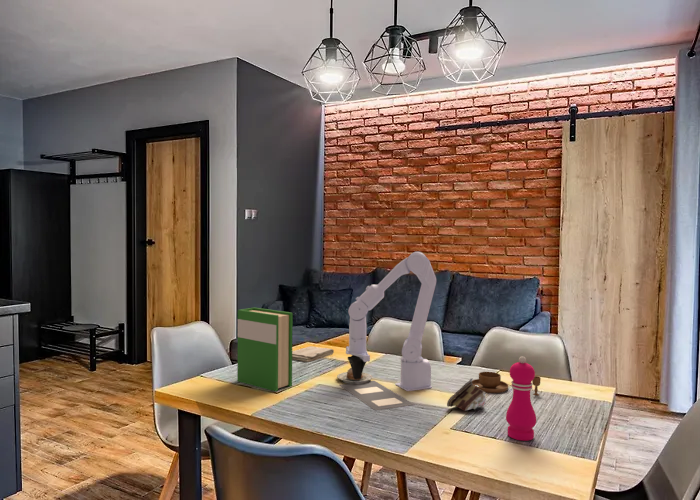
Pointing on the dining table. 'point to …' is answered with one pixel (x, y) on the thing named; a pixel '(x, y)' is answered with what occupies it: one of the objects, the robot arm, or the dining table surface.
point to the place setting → (497, 383)
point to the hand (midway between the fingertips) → (357, 378)
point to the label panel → (376, 395)
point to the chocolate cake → (468, 397)
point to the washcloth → (311, 353)
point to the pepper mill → (521, 402)
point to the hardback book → (265, 348)
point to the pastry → (349, 378)
